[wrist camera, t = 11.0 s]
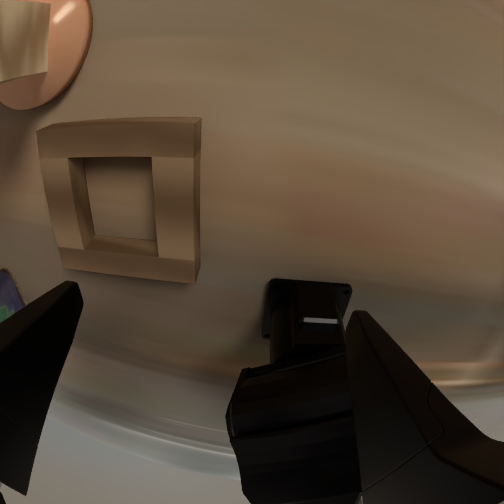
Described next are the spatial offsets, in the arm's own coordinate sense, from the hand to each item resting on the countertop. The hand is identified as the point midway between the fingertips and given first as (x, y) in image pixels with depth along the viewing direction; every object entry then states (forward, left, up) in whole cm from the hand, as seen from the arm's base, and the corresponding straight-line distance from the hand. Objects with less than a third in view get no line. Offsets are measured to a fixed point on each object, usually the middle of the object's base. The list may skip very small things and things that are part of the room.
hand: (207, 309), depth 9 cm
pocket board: (-2, +8, -12) cm, 15 cm away
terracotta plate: (+10, +15, -12) cm, 22 cm away
